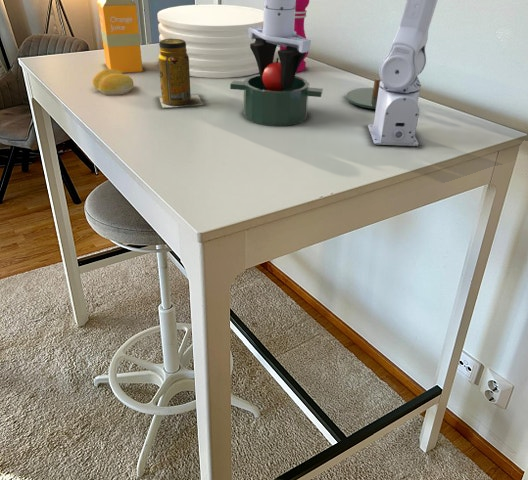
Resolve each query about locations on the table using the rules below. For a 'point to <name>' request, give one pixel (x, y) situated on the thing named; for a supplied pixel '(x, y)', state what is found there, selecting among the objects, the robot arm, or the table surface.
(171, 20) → the plate stack
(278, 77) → the apple
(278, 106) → the pot
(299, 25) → the pepper mill
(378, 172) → the table surface
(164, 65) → the condiment
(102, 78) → the bread roll
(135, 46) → the orange juice
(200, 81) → the table surface
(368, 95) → the lid
